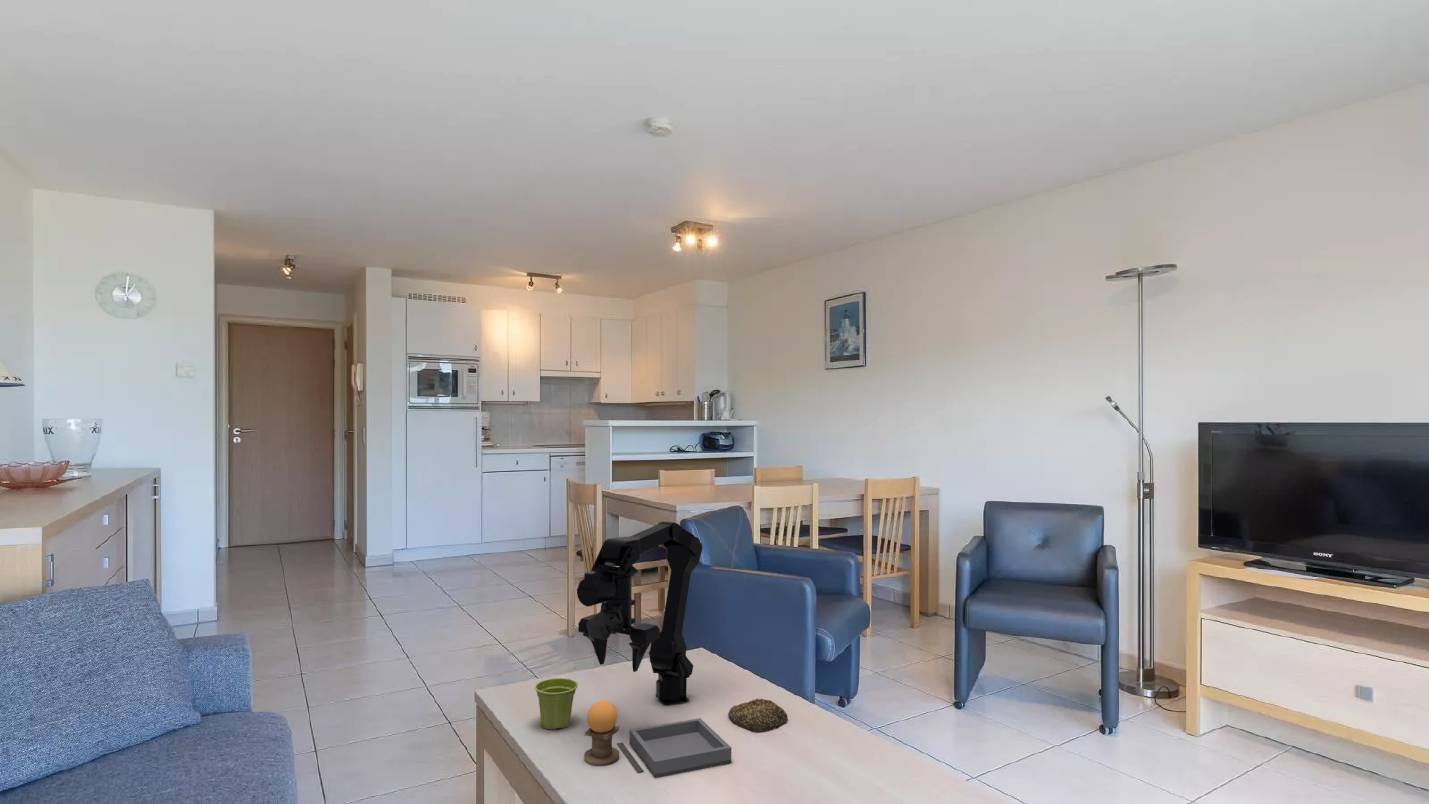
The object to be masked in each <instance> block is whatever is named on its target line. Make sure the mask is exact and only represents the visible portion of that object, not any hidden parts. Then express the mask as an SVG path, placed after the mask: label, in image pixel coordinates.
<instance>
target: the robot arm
mask: <svg viewBox="0 0 1429 804" xmlns="http://www.w3.org/2000/svg"><path fill="white" fill-rule="evenodd" d="M659 546H662V547H663V548H664V549H666V561H667V564H668V566H669V569H670V573H669V574H670V576H669V581H668V587H667V594H666V600H665V606H664V613H663V619H662V624H661V625H662V626H661V631H660V627H659V626H658V625H657V624H652V623H645V622H643V623H640V624H638V625H636V626H632V625H634V624H636V618H635V617H632V615H633V614H632V613H633V612H632V611H633V610H632V606H635V605H636V599H632V596H633V595H632V590H633V589H632V582H633V581H632V580H633V579H632V577H633V575H635V574H637V573H638V572H639V570H638V569H637V567H635V566H634V564H636V563H638V562H639V560H640V559H641V556H642V555H643V554H644V553H646V552H648V551H650V550H653V549H654V548H657V547H659ZM702 552H703V544H702V542H701V540H700V539H699V537H697V536H695V534H693V533H691V532H689V531H688V530H686V529H684V528H683V527H682V526H681V525H680V524H679V523H677V522H676V521H675V522H674V521H664V520H663V521H661V522H658V523H657V524H655V525H653V526H651V527H649V528H647V529H644V530H642V531H639V532H636V533H634V534H633V535H630V536H629V535H628V536H618V537H610V538H607V539H605V540H604V541H603V542H602V546H601V548H600V549H599V552H598V554H597V556H596V558H595V561H594V563H593V565H592V567H591V572H589V571H588V572H584V575H583V577H584V579H582V580H580V581H579V584H578V585H577V589H576V595H577V596H576V597H577V598H578V600H579V602H580V604H582V605H583V606H585V607H592V606H593V607H594V606H596V605H599V604H601V605H600V611H599V612H597V613H596V614H595V613H594V614H590V615H587V616H584V617H581V618H580V619H579V621H578V625H577V628H578V633H582V636H583V637H586V639H588V640H590V642H591V643H592V644H591V645H592V647H593V648H594V651H595V652H594V653H595V655H596V658H597V660H598V663H599V665H600V666H602V665H604V664H605V661H606V656H607V647H608V639H609V637H610V636H611V635H612V634H613V635H616V634H622V635H627V636H629V640H630V641H631V642H629V643H628V645H629V646H630V647H631V649H632V652H631V653H632V654H631V655H632V657H631V658H632V659H631V660H632V662H631V663H632V672H633V673H636V672H637V671H638V670H639V668H640V666H641V663H642V661H643V659H644V656H645V654H646V651H647V650H648V648H649V646H650V649H649V652H648V655H649V663H650V664H651V670H652V673H653V674H657V675H658V676H657V678H658V679H657V680H656V681H655V699H657V700H658V701H659V702H660V703H661V704H662V705H663V706H669V705H676V704H683V703H689V702H690V698H689V697H687V688H688V687H687V681H688V680H687V679H688V678H690V676H691V675H692V674H693V670H694V664H693V663H692V661H690V659H689V658H688V657H687V644H686V642H685V638H684V635H683V629H684V621H685V616H686V615H685V614H686V607H687V602H688V601H687V600H688V596H689V588H690V582H691V581H690V579H691V575H692V573H693V571H694V570H695V569H696V568H697V566H698V565H699V563H700V559H701V555H702Z"/></svg>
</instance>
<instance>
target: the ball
mask: <svg viewBox="0 0 1429 804" xmlns="http://www.w3.org/2000/svg"><path fill="white" fill-rule="evenodd" d="M617 711H618V710H617V708H616V707H615V705H614V704H613V703H611V702H609V701H606V700H600V701H597V702H595V703H593V704H592V705H591V706H590V708H589V710H588V712H587V715H586V721H587V724H588V727H589V729H590V728H591V729H592V730H593V731H594V732H597V733H606V732H609V731H610V730H611V729H612V728H613V727H614V726H616V724H617V721H618V712H617Z"/></svg>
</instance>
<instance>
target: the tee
mask: <svg viewBox="0 0 1429 804" xmlns="http://www.w3.org/2000/svg"><path fill="white" fill-rule="evenodd" d="M618 731H620V726H619V725H615V726H614V727H613V728H612V729H611V730H610V731H609V732H606V733H597V732H594V731H593V730H592V729H591V728H590V727H589V728H588V729H587V730H586V731H584V736H585V737H589V738H590V737H591V748H589V749H587V750H586V751H585V752H584V755H583V760H584V762H585V763H586V764H587V765H590V766H595V767H601V766H602V767H603V766H604V767H605V766H610V765H613V764H615V763H617V762H618V761H619V759H620V751H619V749H618V748H616V747H613V735H615V734H616V733H617V732H618Z"/></svg>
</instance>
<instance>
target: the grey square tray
mask: <svg viewBox="0 0 1429 804" xmlns="http://www.w3.org/2000/svg"><path fill="white" fill-rule="evenodd" d="M628 741H629V746H631V749H633V751H634V752H635V753H636V754H637V756H638V757H639V760H641V761H642V764H644V765H645V767H646V768H647V770H648V771H649V772H650V773H651V775H652V776H653V778H654V779H656V778H661V777H665V776H670V775H676V774H680V773H686V772H691V771H696V770H701V769H706V768H712V767H718V766H723V765H728V764H732V746H731V745H729V744H728V743H727V742H726V741H725V740H724V739H723V738H722V737H721V736H720V735H719V734H718V733H717V732H716V731H715V730H714V729H712V727H710V726H709V725H708V723H706V722H705V720H704V719H702V718H701V717H697V718H692V719H686V720H680V721H679V720H678V721H674V722H667V723H662V724H661V723H660V724H655V725H650V726H644V727H638V728H631V729H629V740H628Z"/></svg>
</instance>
